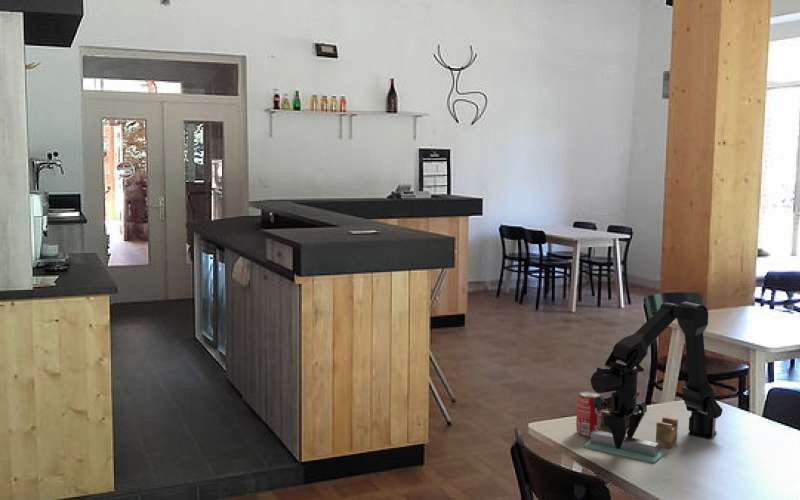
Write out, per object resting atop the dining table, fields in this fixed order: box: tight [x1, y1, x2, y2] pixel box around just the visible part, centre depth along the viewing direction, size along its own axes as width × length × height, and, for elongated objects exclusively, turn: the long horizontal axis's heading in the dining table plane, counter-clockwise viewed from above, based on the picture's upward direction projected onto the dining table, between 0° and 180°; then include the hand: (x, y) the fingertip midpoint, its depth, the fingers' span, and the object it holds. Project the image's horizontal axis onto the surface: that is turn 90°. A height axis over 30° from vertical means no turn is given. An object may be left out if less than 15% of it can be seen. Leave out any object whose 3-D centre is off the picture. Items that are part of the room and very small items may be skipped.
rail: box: [589, 430, 659, 457], centre depth 221 cm, size 18×3×3 cm, turn 55°
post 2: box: [655, 416, 679, 450], centre depth 226 cm, size 4×6×7 cm, turn 145°
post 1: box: [601, 408, 617, 433], centre depth 235 cm, size 4×6×7 cm, turn 145°
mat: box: [583, 440, 666, 464], centre depth 221 cm, size 20×8×1 cm, turn 55°
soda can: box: [575, 390, 603, 438], centre depth 234 cm, size 7×7×12 cm
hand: (623, 443), depth 221 cm, fingers open, 9 cm apart
